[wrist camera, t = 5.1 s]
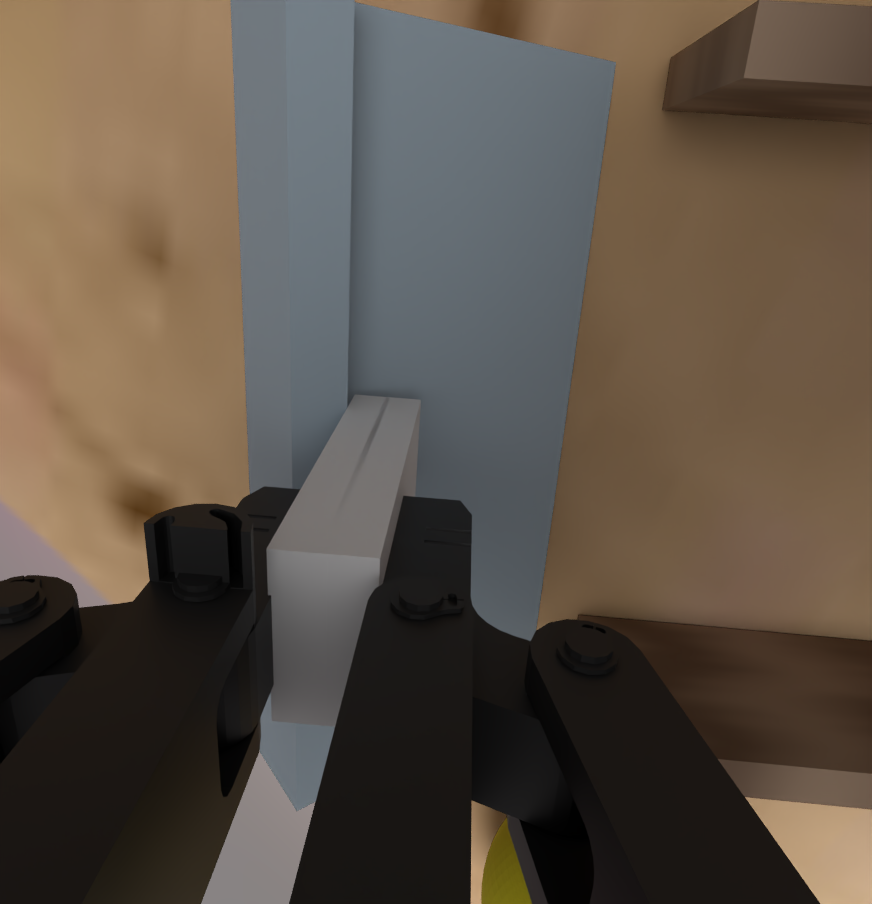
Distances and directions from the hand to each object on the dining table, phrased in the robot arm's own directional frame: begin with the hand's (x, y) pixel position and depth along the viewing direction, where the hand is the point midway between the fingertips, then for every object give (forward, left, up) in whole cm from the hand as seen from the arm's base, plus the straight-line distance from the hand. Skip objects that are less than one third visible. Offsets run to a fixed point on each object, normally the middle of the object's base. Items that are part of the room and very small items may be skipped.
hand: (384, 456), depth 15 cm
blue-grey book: (-5, 0, -5) cm, 7 cm away
